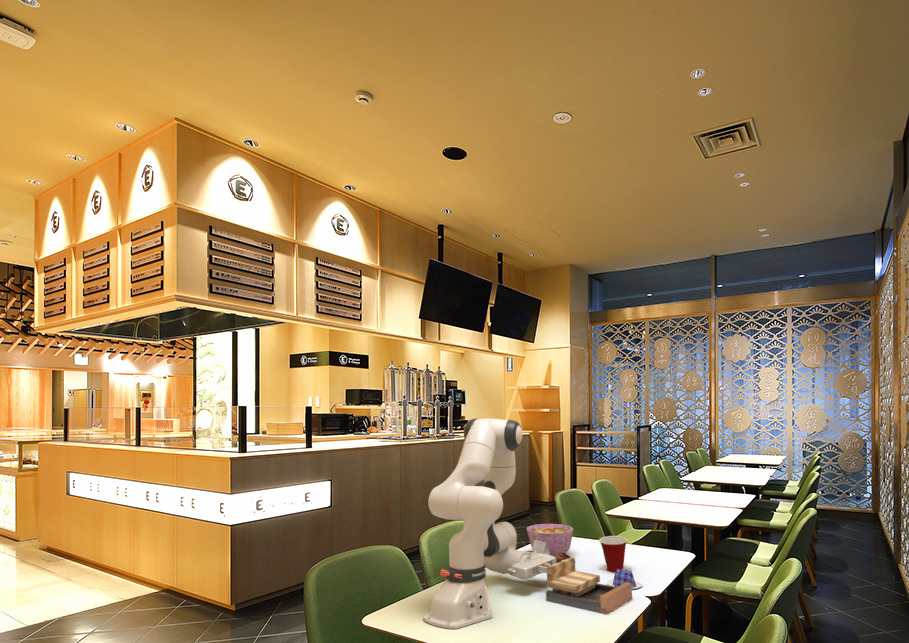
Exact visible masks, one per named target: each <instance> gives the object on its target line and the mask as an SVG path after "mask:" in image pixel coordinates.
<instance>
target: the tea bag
mask: <svg viewBox="0 0 909 643" xmlns="http://www.w3.org/2000/svg"><path fill="white" fill-rule="evenodd" d="M531 551H537V553H542V554H547V555H550V552H549V549H548V547H547V543H546V542H542V541H537V540H534V543H533V547H531Z"/></svg>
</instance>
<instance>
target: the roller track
mask: <svg viewBox="0 0 909 643" xmlns="http://www.w3.org/2000/svg"><path fill="white" fill-rule="evenodd" d="M595 585H596V587H595V588H594V589H592V590H590V591H588V592H586V593H584V594H582V595H580V596H573V595H571V594H564V593H561V592H560V593H559V592H555V591H552V590H549V589H548V590H545V600H546V602H551V603H554V604H558V605H564V606H568V607H572V608H576V609H582V610H585V611H589V612H590V611H591V612H595V613H599V614H602V615H609V614H610V612H611V613H612V612H614V611H616V610H618V609H619V608H621V607H622V606H623V604H624V603H626V602H627V603H629V602H631V601H632V600H633V589H632V585H631V583H624V584H622V585H620V586H618V587H615V586H614V585H613V586H609V585H608V584H604V583H603V584H602V583H600V582H598V583H596V584H595ZM631 599H632V600H631ZM630 600H631V601H630ZM628 601H629V602H628ZM627 603H626V604H627ZM621 605H622V606H621ZM624 605H625V604H624ZM620 606H621V607H620ZM618 607H619V608H618ZM615 609H616V610H615Z"/></svg>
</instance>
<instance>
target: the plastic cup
mask: <svg viewBox="0 0 909 643" xmlns="http://www.w3.org/2000/svg"><path fill="white" fill-rule="evenodd" d="M598 542H599V543H600V545H601V549H602V551H603V557H604V562H605V565H606V569H607V571H608V572H610V573H614V574H615V571H616V570H618V569H624V564H625V556H626V554H625V553H626V546H627V542H628V539H627V538H626V537H624V536H619V535H609V536H603V537H601V538H599V540H598Z"/></svg>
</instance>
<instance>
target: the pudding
mask: <svg viewBox="0 0 909 643" xmlns="http://www.w3.org/2000/svg"><path fill="white" fill-rule="evenodd" d="M613 575H614V576H613V579H610V580H608V581H607V584H606V585H609V586H614V587H618V586H620V585H622V584H624V583H631V585H632V590H635V589H638V588H641V587H642V586H643V584H642V583H641V582H639V581H638V580H635V577H634V574H633V572H632V570H630V569H628V568H627V569H626V568H623V569H618V570H616V571H615V573H614V574H613Z"/></svg>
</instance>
